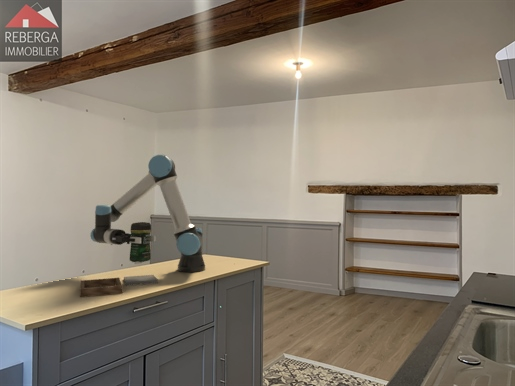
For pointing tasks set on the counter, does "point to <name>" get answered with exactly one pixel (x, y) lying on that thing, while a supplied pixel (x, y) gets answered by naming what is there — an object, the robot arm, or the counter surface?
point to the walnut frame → (100, 290)
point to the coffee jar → (141, 250)
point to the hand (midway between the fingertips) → (147, 239)
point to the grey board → (140, 280)
